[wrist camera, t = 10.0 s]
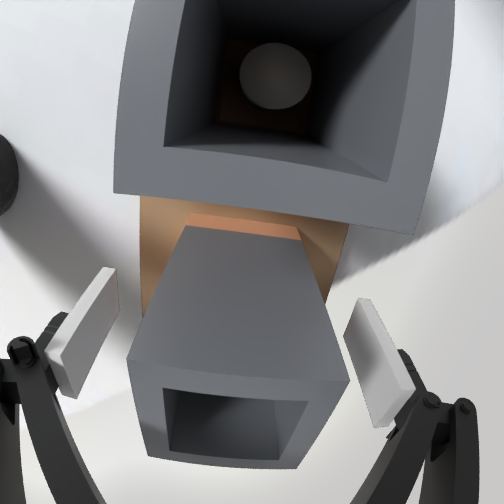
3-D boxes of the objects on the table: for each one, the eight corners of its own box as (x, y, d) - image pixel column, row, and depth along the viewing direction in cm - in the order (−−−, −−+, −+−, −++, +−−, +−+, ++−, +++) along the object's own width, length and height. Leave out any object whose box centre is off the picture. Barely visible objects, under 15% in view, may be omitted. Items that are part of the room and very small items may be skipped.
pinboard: (170, 0, 14) (123, -55, 6) (379, 34, 15) (452, 5, 7) (146, 308, 23) (114, 388, 16) (311, 328, 24) (331, 411, 17)
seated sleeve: (215, 29, 14) (161, -86, 3) (329, 48, 14) (454, -22, 3) (199, 136, 17) (113, 193, 6) (311, 152, 17) (413, 235, 6)
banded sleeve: (191, 213, 19) (126, 358, 8) (296, 226, 19) (349, 380, 8) (186, 300, 21) (147, 455, 11) (277, 311, 22) (296, 469, 11)
